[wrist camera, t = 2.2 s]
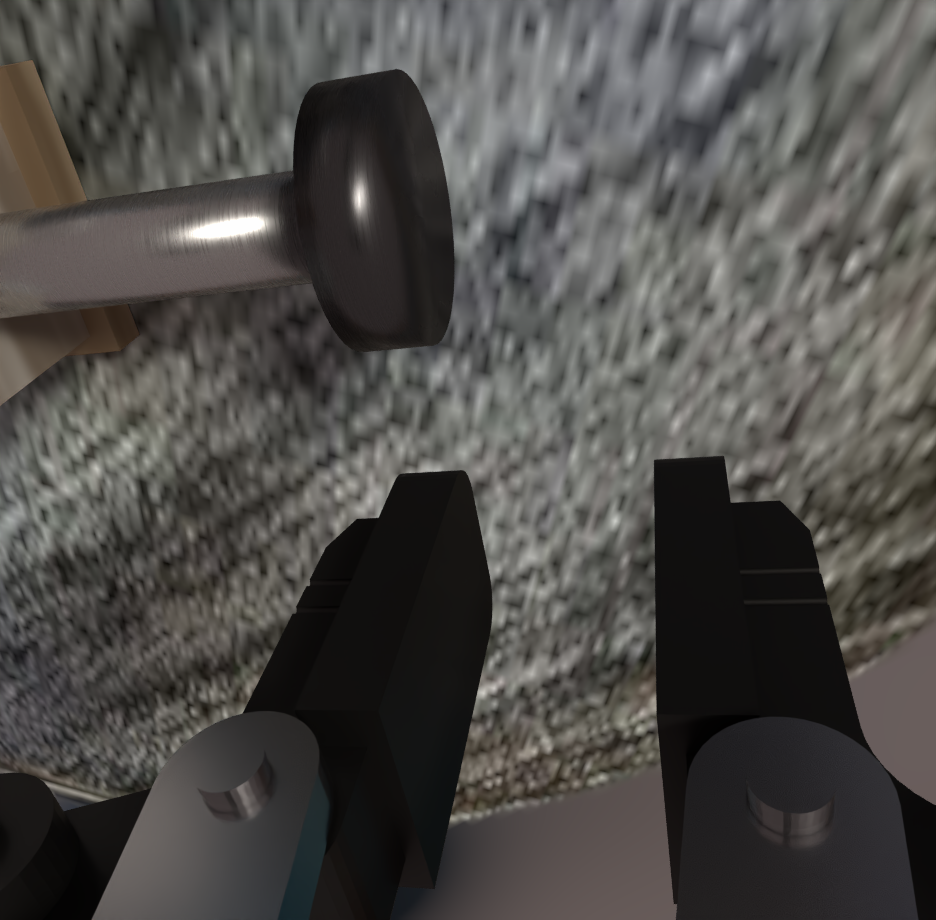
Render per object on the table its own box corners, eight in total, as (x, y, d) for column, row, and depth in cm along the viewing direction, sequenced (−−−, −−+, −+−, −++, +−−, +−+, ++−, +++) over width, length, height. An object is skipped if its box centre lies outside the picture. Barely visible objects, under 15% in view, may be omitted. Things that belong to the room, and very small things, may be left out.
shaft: (422, 50, 24) (351, 96, 19) (466, 289, 28) (418, 391, 22) (-107, 143, 29) (-301, 204, 23) (-11, 340, 32) (-158, 436, 26)
